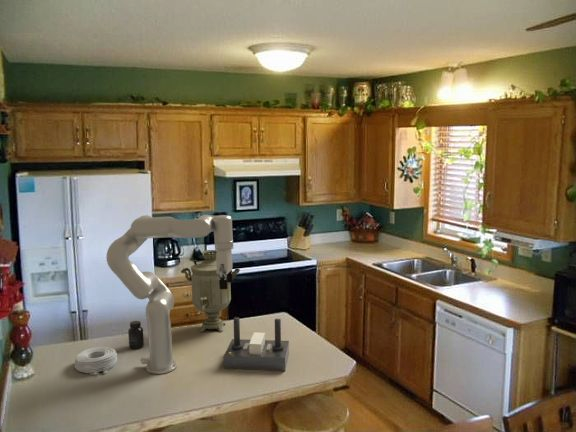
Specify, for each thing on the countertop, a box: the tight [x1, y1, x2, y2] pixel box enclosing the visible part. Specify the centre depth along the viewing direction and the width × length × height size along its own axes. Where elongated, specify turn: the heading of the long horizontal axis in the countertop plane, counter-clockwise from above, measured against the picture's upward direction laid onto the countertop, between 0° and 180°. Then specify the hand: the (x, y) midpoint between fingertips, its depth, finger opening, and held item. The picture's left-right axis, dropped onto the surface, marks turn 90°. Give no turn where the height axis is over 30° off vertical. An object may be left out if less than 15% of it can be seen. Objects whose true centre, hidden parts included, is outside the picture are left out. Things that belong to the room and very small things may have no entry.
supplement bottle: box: [127, 320, 145, 350], centre depth 249 cm, size 7×7×12 cm
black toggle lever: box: [272, 318, 283, 351], centre depth 231 cm, size 5×5×13 cm
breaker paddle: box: [249, 331, 266, 355], centre depth 232 cm, size 5×13×7 cm, turn 175°
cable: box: [73, 346, 118, 376], centre depth 229 cm, size 18×18×6 cm
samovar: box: [180, 249, 240, 333], centre depth 268 cm, size 30×26×40 cm
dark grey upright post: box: [232, 317, 243, 350], centre depth 232 cm, size 5×5×13 cm
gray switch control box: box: [223, 338, 290, 372], centre depth 233 cm, size 26×18×7 cm
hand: (226, 285), depth 222 cm, fingers open, 9 cm apart
